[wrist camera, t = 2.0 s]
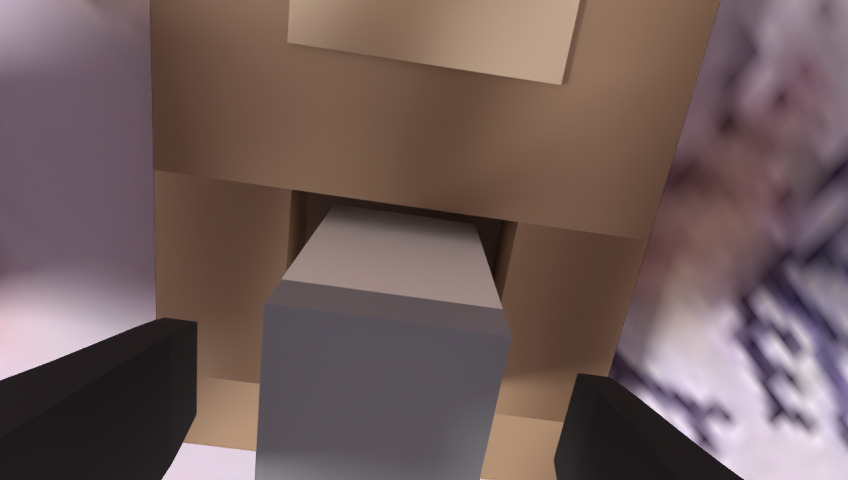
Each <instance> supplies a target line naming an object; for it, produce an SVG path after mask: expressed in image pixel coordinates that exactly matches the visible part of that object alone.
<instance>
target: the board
mask: <svg viewBox="0 0 848 480" xmlns="http://www.w3.org/2000/svg"><path fill="white" fill-rule="evenodd" d="M719 4H720V0H150V25H151V75H152V126H153V176H154V227H155V277H156V320H157V319H161V318H164V317H165V318H173V319H180V320H188V321H195V322H197V415H196V417H195V419H194V421H193V423H192V425H191V427H190V429H189V431H188V433H187V435H186V437H185V439H184V441H183V443H192V444H200V445H208V446H216V447H225V448H233V449H241V450H249V451H256V446H257V427H258V409H259V390H260V371H261V352H262V333H263V314H264V303H265V301H266V300H267V299H268V297H269V296H270V294H271V293H272V291H273V290H274V289H275V287H276V286H277V284H278V283H279V282H280V280H281V279H282V277H283V276H284V275H285V273H286V272H287V270H288V269H289V267H290V266H291V265H292V263H293V262H294V260H295V259H296V258H297V256H298V255H299V253H300V252H301V251H302V249H303V248H304V246H305V245H306V243H307V242H308V241H309V239H310V238H311V236H312V235H313V234H314V232H315V231H316V229H317V228H318V227H319V225H320V224H321V222H322V221H323V219H324V218H325V217H326V215H327V214H328V212H329V211H330V210H331V208H332V207H333V205H334V204H338V205H345V206H352V207H360V208H367V209H374V210H381V211H388V212H395V213H402V214H409V215H416V216H423V217H430V218H437V219H444V220H451V221H458V222H465V223H472V224H475V226H476V229H477V232H478V235H479V238H480V241H481V244H482V247H483V250H484V253H485V256H486V259H487V262H488V265H489V268H490V272H491V275H492V278H493V281H494V284H495V287H496V290H497V293H498V296H499V299H500V302H501V305H502V308H503V311H504V314H505V317H506V320H507V323H508V326H509V329H510V332H511V335H512V338H511V342H510V347H509V351H508V356H507V360H506V364H505V369H504V373H503V378H502V382H501V387H500V391H499V396H498V400H497V404H496V409H495V413H494V418H493V422H492V427H491V431H490V436H489V440H488V444H487V449H486V453H485V458H484V462H483V467H482V471H481V475H480V479H488V480H557V478H556V472H555V466H554V456H555V453H556V449H557V446H558V442H559V438H560V435H561V431H562V428H563V424H564V420H565V417H566V413H567V409H568V406H569V402H570V399H571V395H572V391H573V388H574V384H575V381H576V377H577V373H583V374H590V375H598V376H605V377H608V374H609V371H610V368H611V364H612V361H613V358H614V354H615V351H616V348H617V344H618V341H619V337H620V334H621V331H622V327H623V324H624V321H625V317H626V314H627V311H628V307H629V304H630V301H631V297H632V294H633V291H634V287H635V284H636V281H637V277H638V274H639V271H640V267H641V264H642V261H643V257H644V254H645V251H646V247H647V244H648V241H649V237H650V234H651V231H652V227H653V224H654V221H655V217H656V214H657V211H658V207H659V204H660V201H661V197H662V194H663V191H664V187H665V184H666V181H667V177H668V174H669V171H670V167H671V164H672V161H673V157H674V154H675V151H676V147H677V144H678V141H679V137H680V134H681V131H682V127H683V124H684V121H685V117H686V114H687V110H688V107H689V104H690V100H691V97H692V94H693V90H694V87H695V84H696V80H697V77H698V74H699V70H700V67H701V64H702V60H703V57H704V54H705V50H706V47H707V44H708V40H709V37H710V34H711V30H712V27H713V24H714V20H715V17H716V14H717V10H718V7H719Z"/></svg>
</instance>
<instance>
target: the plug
mask: <svg viewBox="0 0 848 480" xmlns="http://www.w3.org/2000/svg"><path fill="white" fill-rule="evenodd" d="M511 338H512V335H511V332H510V329H509V326H508V323H507V320H506V317H505V314H504V311H503V308H502V305H501V302H500V299H499V296H498V293H497V290H496V287H495V284H494V281H493V278H492V275H491V272H490V268H489V265H488V262H487V259H486V256H485V253H484V250H483V247H482V244H481V241H480V238H479V235H478V232H477V229H476V226H475V224H472V223H465V222H458V221H451V220H444V219H437V218H430V217H423V216H416V215H409V214H402V213H395V212H388V211H381V210H374V209H367V208H360V207H352V206H345V205H338V204H334V205H333V207H332V208H331V210H330V211H329V212H328V214H327V215H326V217H325V218H324V219H323V221H322V222H321V224H320V225H319V227H318V228H317V229H316V231H315V232H314V234H313V235H312V236H311V238H310V239H309V241H308V242H307V243H306V245H305V246H304V248H303V249H302V251H301V252H300V253H299V255H298V256H297V258H296V259H295V260H294V262H293V263H292V265H291V266H290V267H289V269H288V270H287V272H286V273H285V275H284V276H283V277H282V279H281V280H280V282H279V283H278V284H277V286H276V287H275V289H274V290H273V291H272V293H271V294H270V296H269V297H268V299H267V300H266V301H265V303H264V314H263V333H262V352H261V371H260V390H259V409H258V427H257V446H256V465H255V480H480V475H481V471H482V467H483V462H484V458H485V453H486V449H487V444H488V440H489V436H490V431H491V427H492V422H493V418H494V413H495V409H496V404H497V400H498V396H499V391H500V387H501V382H502V378H503V373H504V369H505V364H506V360H507V356H508V351H509V347H510V342H511Z"/></svg>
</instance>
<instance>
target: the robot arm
mask: <svg viewBox="0 0 848 480" xmlns="http://www.w3.org/2000/svg"><path fill="white" fill-rule="evenodd" d="M196 415H197V322H195V321H188V320H180V319H173V318H165V317H164V318H161V319H157V320H154V321H151V322H148V323H146V324H143V325H140V326H138V327H135V328H132V329H130V330H127V331H125V332H122V333H120V334H118V335H115V336H113V337H110V338H108V339H105V340H103V341H100V342H98V343H96V344H93V345H91V346H88V347H86V348H83V349H81V350H78V351H76V352H73V353H71V354H69V355H66V356H64V357H61V358H59V359H56V360H54V361H51V362H49V363H46V364H43V365H41V366H38V367H35V368H33V369H30V370H27V371H25V372H22V373H19V374H17V375H14V376H11V377H8V378H6V379H3V380H0V480H161V479H162V478H163V476H164V475H165V473H166V472H167V470H168V469H169V467H170V466H171V464H172V462H173V460H174V458H175V457H176V455H177V453H178V451H179V449H180V447H181V445H182V443H183V441H184V439H185V437H186V435H187V433H188V431H189V429H190V427H191V425H192V423H193V421H194V419H195V417H196ZM554 466H555V472H556V478H557V480H744V479H742V478H741V477H739V476H738V475H737V474H735V473H734V472H732V471H731V470H730V469H728V468H727V467H726V466H724V465H723V464H722V463H720V462H719V461H718V460H716V459H715V458H714V457H712V456H711V455H710V454H709V453H707V452H706V451H705V450H703V449H702V448H701V447H699V446H698V445H697V444H696V443H694V442H693V441H692V440H691V439H689V438H688V437H687V436H685V435H684V434H683V433H682V432H680V431H679V430H678V429H677V428H675V427H674V426H673V425H672V424H670V423H669V422H668V421H667V420H665V419H664V418H663V417H662V416H660V415H659V414H658V413H657V412H655V411H654V410H653V409H652V408H650V407H649V406H648V405H647V404H645V403H644V402H643V401H641V400H640V399H639V398H638V397H636V396H635V395H634V394H632V393H631V392H630V391H629V390H627V389H626V388H625V387H623V386H622V385H620V384H619V383H618V382H616V381H614V380H613V379H611V378H610V377H605V376H598V375H590V374H583V373H577V377H576V381H575V384H574V388H573V391H572V395H571V399H570V402H569V406H568V409H567V413H566V417H565V420H564V424H563V428H562V431H561V435H560V438H559V442H558V446H557V449H556V453H555V456H554Z"/></svg>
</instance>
